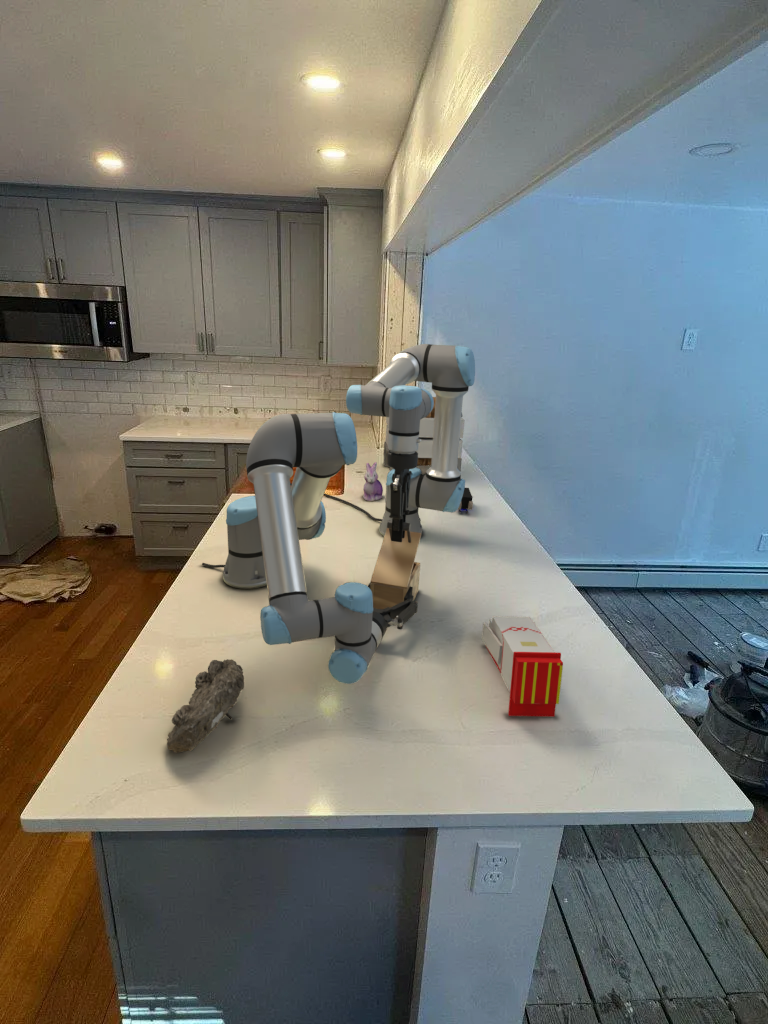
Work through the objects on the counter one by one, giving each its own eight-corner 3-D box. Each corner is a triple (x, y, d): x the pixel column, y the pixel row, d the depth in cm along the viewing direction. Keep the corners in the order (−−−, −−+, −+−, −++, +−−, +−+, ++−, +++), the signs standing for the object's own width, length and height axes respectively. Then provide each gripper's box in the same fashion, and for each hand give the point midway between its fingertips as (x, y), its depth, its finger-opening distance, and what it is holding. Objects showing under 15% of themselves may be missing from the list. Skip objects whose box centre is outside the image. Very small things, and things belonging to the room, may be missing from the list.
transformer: (382, 463, 289) (386, 382, 275) (445, 464, 293) (451, 384, 279) (390, 482, 257) (394, 392, 243) (460, 483, 261) (468, 394, 247)
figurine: (367, 502, 230) (368, 467, 225) (357, 495, 238) (358, 460, 233) (388, 500, 234) (389, 465, 229) (377, 492, 242) (378, 458, 237)
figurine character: (473, 518, 221) (467, 502, 235) (475, 501, 218) (469, 485, 231) (455, 518, 221) (451, 501, 234) (457, 500, 218) (453, 485, 231)
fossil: (192, 660, 117) (244, 628, 112) (224, 691, 120) (276, 661, 115) (142, 746, 98) (202, 712, 93) (182, 779, 101) (242, 748, 96)
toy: (528, 601, 136) (572, 659, 107) (523, 653, 139) (565, 722, 110) (478, 600, 136) (508, 657, 107) (474, 652, 139) (503, 722, 109)
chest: (385, 585, 162) (387, 557, 159) (418, 590, 160) (420, 562, 157) (369, 613, 147) (370, 583, 144) (405, 619, 145) (406, 589, 142)
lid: (387, 529, 154) (383, 510, 148) (421, 534, 152) (419, 515, 146) (370, 583, 144) (366, 564, 138) (407, 589, 142) (404, 570, 136)
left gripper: (319, 637, 130) (350, 594, 151) (414, 655, 125) (432, 608, 146) (320, 608, 128) (351, 568, 148) (416, 626, 123) (434, 581, 143)
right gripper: (411, 459, 131) (405, 552, 139) (424, 445, 145) (418, 530, 153) (379, 456, 133) (376, 548, 141) (395, 442, 147) (391, 527, 155)
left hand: (391, 588), depth 147 cm, fingers closed on chest, 10 cm apart
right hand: (398, 538), depth 147 cm, fingers closed on lid, 2 cm apart
